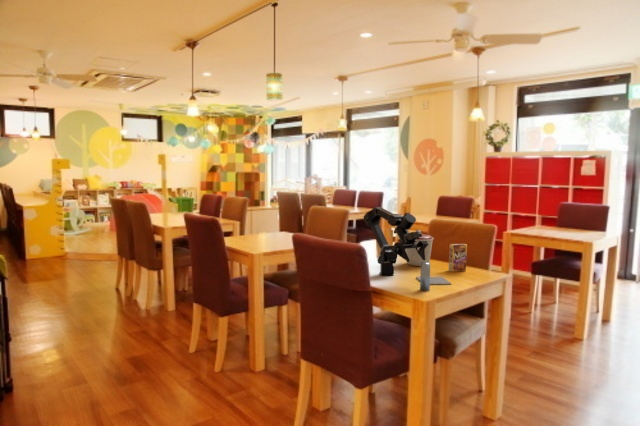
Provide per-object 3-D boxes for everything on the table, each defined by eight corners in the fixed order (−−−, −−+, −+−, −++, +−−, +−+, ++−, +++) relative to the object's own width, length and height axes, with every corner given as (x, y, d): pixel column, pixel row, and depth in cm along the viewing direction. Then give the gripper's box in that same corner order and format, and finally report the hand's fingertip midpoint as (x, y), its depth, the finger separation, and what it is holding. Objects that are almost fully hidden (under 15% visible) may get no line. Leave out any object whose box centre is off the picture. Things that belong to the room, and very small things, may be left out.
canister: (431, 262, 275) (432, 228, 273) (434, 268, 257) (435, 232, 255) (401, 261, 277) (402, 227, 275) (402, 267, 259) (403, 231, 257)
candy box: (452, 272, 248) (452, 245, 246) (448, 270, 252) (449, 243, 251) (466, 271, 250) (467, 244, 248) (462, 269, 254) (463, 243, 253)
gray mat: (423, 284, 220) (423, 283, 220) (415, 278, 234) (415, 276, 234) (451, 284, 221) (451, 283, 220) (442, 277, 234) (442, 276, 234)
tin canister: (421, 291, 208) (422, 263, 207) (418, 288, 213) (419, 262, 212) (430, 291, 209) (431, 263, 207) (428, 288, 213) (428, 261, 212)
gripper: (395, 226, 215) (408, 252, 206) (426, 224, 223) (440, 249, 214) (386, 240, 223) (398, 265, 214) (416, 237, 231) (429, 262, 222)
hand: (416, 260), depth 216 cm, fingers open, 9 cm apart
